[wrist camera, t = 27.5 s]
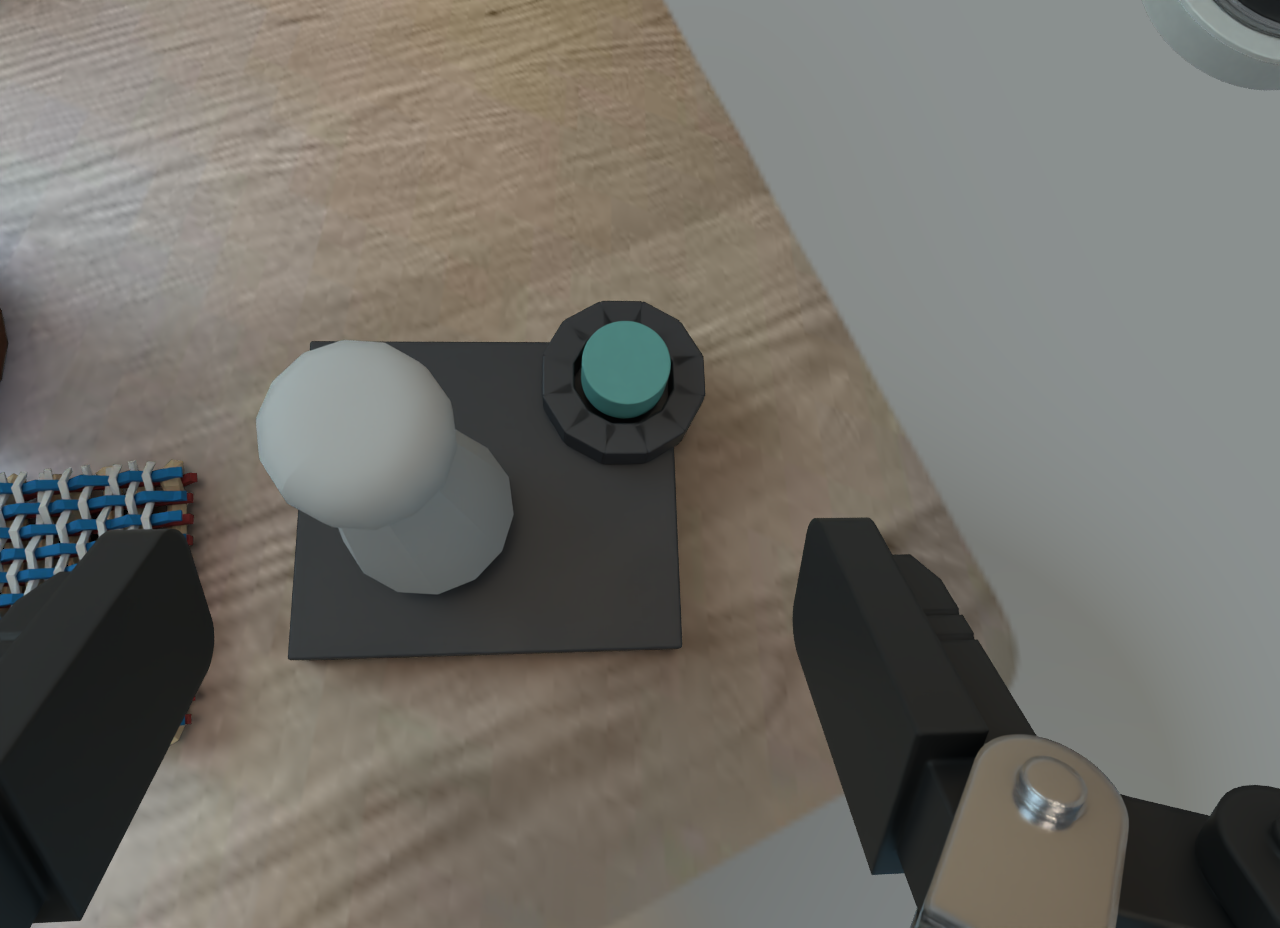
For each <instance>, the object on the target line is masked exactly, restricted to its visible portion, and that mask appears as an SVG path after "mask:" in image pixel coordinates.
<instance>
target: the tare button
mask: <svg viewBox="0 0 1280 928" xmlns="http://www.w3.org/2000/svg"><path fill="white" fill-rule="evenodd" d="M670 369H671V360H670V354H669V351H668V348H667V346H666V344H665V342H664V341H663V340H662V338H661V337H660V336H659V335H658V334H657V333H656V332H655V331H653V330H652V329H651V328H649V327H647V326H645V325H643V324H640V323H637V322H632V321H618V322H613V323H610V324H607V325H605V326H603V327H602V328H600V329H598V330H597V331H596V332H595V333H594V334H593V335H592V336H591V337H590V339H589V340H588V341H587V343H586V345H585V348H584V351H583V355H582V369H581V383H582V388H583V391H584V393H585V395H586V397H587V399H588V400H589V401H590V403H591V404H592V405H593V406H594V407H595V408H596V409H598V410H599V411H601V412H602V413H604V414H606V415H608V416H611V417H615V418H633V417H637V416H640V415H643V414H645V413H646V412H648V411H649V410H651V409H652V408H653V407H654V406H655V405H656V404H657V403H658V401H659V400H660V398H661V396H662V394H663V392H664V389H665V386H666V383H667V380H668V377H669V374H670Z"/></svg>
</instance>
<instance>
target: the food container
mask: <svg viewBox="0 0 1280 928" xmlns="http://www.w3.org/2000/svg"><path fill="white" fill-rule="evenodd" d="M7 347H8V340H7V335H6V330H5V325H4V320H3V314H2V310H1V308H0V382H1V380H2V375H3V369H4V364H5V358H6V352H7Z"/></svg>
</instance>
